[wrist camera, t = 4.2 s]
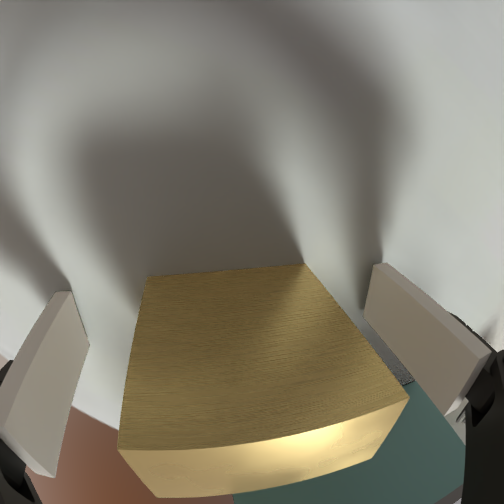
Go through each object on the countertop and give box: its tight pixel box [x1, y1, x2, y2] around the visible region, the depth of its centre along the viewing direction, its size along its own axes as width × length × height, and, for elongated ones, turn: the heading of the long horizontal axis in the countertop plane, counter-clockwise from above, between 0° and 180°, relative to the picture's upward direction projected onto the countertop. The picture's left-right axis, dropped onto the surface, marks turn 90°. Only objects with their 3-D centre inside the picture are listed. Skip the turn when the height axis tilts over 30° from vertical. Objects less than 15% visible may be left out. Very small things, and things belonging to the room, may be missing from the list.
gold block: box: [117, 263, 410, 498], centre depth 8 cm, size 6×3×7 cm, turn 90°
